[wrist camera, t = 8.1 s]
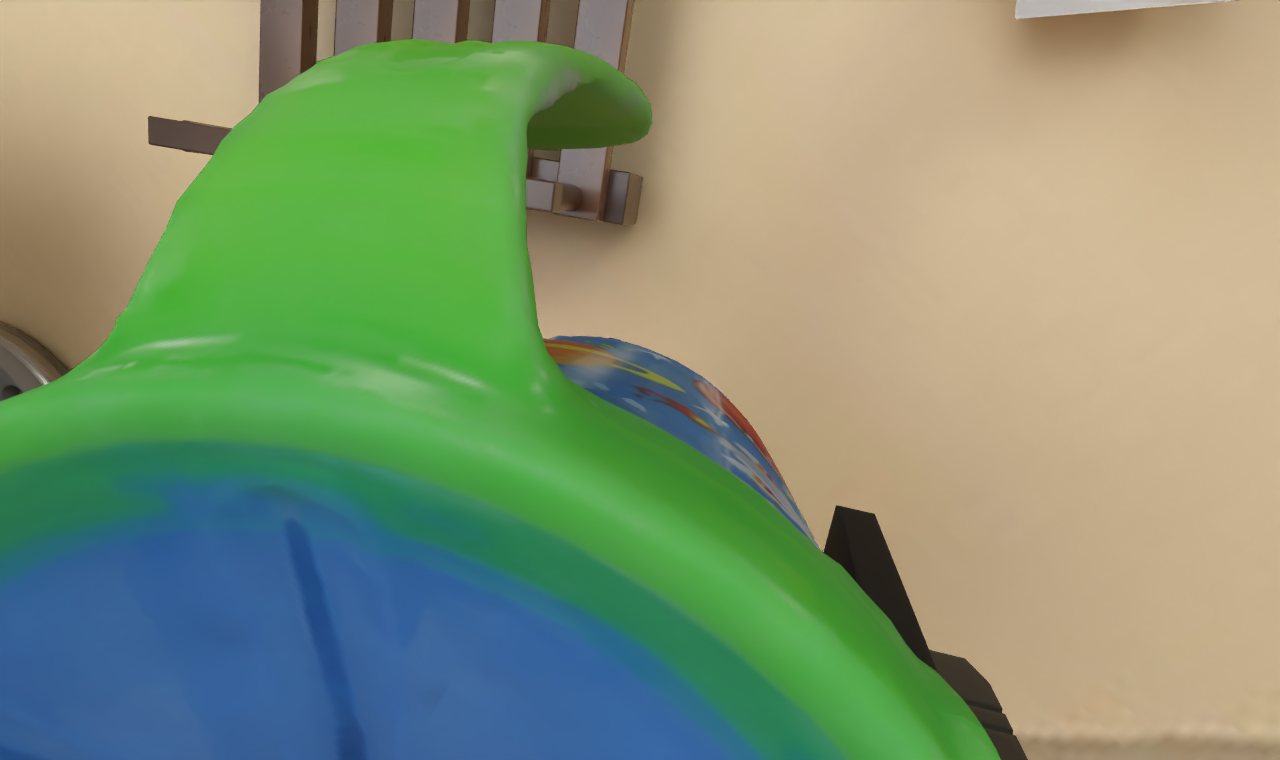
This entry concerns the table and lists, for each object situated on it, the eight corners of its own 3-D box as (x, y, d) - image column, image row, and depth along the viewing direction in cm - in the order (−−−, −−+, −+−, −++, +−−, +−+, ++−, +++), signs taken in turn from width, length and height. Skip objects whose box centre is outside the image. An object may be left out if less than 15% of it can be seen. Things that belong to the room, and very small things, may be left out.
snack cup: (770, 859, 16) (792, 1831, 6) (354, 744, 17) (-159, 1414, 8) (952, 171, 12) (1708, -7, 3) (399, 86, 14) (-521, -254, 4)
